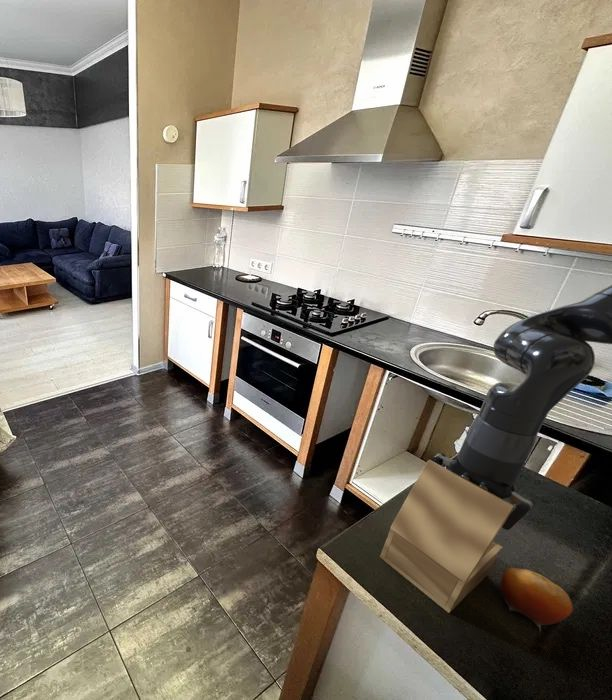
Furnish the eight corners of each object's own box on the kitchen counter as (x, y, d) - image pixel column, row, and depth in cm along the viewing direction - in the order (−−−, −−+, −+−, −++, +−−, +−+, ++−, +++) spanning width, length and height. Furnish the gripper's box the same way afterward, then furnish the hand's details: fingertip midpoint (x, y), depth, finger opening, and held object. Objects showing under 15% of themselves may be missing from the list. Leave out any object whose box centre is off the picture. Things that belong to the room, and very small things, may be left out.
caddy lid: (429, 459, 64) (428, 459, 64) (515, 506, 55) (513, 506, 55) (391, 527, 68) (389, 528, 67) (466, 582, 59) (464, 583, 58)
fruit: (494, 610, 61) (513, 564, 60) (489, 596, 67) (507, 555, 66) (565, 650, 55) (586, 601, 55) (553, 632, 61) (572, 587, 61)
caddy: (418, 527, 77) (429, 501, 74) (487, 575, 68) (503, 547, 65) (379, 557, 71) (390, 529, 68) (448, 613, 61) (464, 584, 58)
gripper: (566, 464, 56) (519, 543, 63) (456, 416, 67) (426, 487, 74) (546, 482, 53) (499, 563, 59) (434, 428, 64) (405, 502, 71)
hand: (459, 521), depth 67 cm, fingers open, 5 cm apart
